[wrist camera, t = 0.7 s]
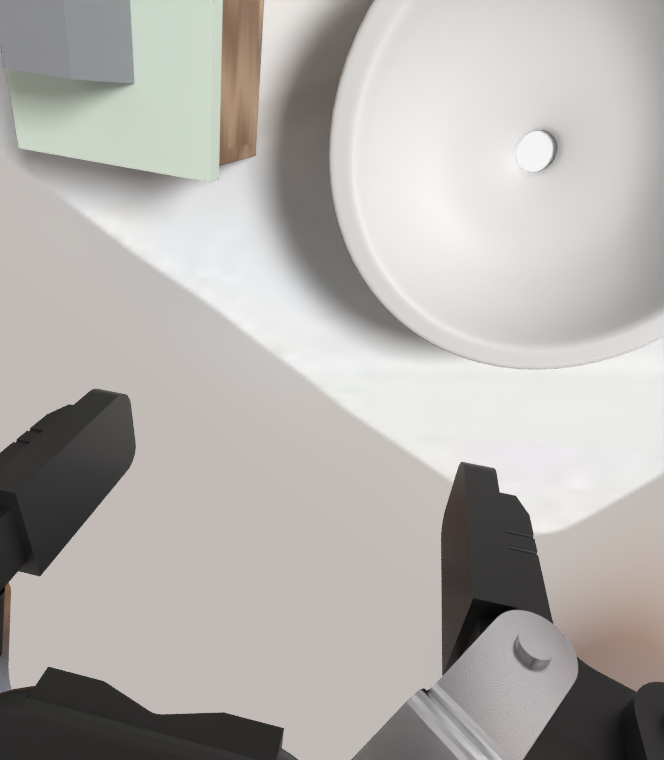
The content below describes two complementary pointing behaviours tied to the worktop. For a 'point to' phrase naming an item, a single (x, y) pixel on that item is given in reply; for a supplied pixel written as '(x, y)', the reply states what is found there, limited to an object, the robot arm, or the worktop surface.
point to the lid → (117, 81)
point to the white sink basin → (507, 174)
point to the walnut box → (240, 78)
